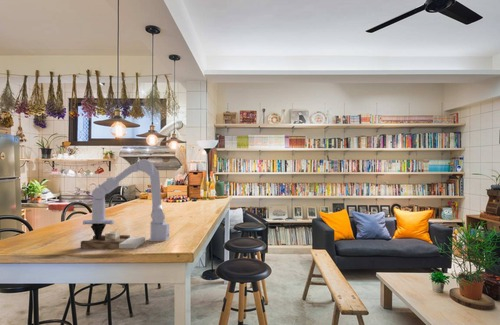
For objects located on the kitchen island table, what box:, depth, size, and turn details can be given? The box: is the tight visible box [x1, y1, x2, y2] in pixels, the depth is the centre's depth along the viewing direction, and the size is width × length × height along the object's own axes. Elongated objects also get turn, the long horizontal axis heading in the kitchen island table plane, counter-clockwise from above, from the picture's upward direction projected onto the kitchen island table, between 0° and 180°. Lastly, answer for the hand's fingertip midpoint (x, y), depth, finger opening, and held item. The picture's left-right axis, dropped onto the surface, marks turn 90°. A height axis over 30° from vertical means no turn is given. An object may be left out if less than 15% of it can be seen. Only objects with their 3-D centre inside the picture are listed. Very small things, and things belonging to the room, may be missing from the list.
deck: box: [80, 234, 146, 249], centre depth 141 cm, size 26×13×3 cm, turn 91°
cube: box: [104, 230, 121, 241], centre depth 141 cm, size 5×5×4 cm
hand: (98, 238), depth 141 cm, fingers closed
